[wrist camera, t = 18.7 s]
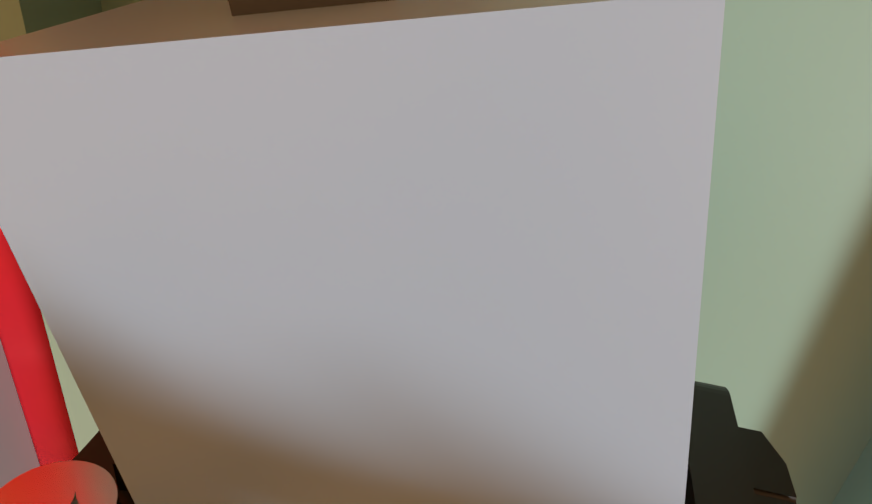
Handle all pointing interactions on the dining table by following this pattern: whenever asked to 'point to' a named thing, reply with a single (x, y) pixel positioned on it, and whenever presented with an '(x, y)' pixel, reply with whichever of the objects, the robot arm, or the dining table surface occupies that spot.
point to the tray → (749, 234)
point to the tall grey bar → (372, 242)
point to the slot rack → (13, 430)
